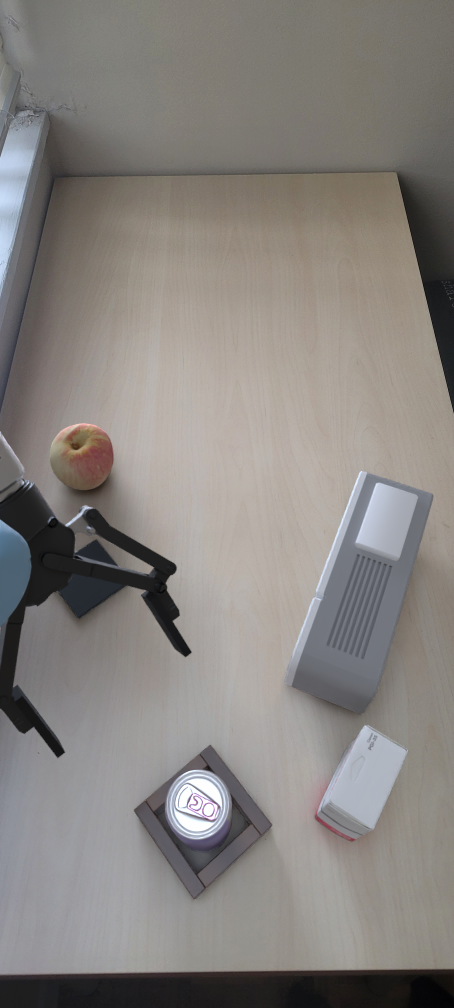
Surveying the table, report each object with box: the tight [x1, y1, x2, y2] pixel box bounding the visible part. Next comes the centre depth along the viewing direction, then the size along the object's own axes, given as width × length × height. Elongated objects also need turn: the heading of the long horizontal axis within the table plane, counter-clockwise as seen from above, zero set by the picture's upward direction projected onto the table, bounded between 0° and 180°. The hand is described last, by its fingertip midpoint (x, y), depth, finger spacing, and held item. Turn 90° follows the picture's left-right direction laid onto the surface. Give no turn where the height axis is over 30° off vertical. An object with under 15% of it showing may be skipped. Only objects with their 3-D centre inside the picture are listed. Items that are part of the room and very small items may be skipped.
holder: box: [133, 744, 273, 900], centre depth 67 cm, size 10×10×4 cm
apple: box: [49, 422, 115, 491], centre depth 89 cm, size 9×9×8 cm
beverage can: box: [164, 770, 233, 853], centre depth 62 cm, size 6×6×15 cm
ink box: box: [314, 724, 409, 842], centre depth 65 cm, size 9×5×12 cm, turn 148°
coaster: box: [57, 538, 126, 620], centre depth 83 cm, size 8×8×1 cm
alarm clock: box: [284, 470, 434, 715], centre depth 76 cm, size 27×9×12 cm, turn 158°
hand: (123, 698), depth 57 cm, fingers open, 13 cm apart
